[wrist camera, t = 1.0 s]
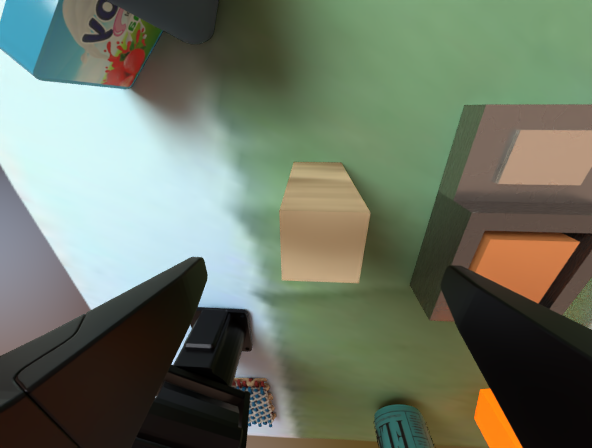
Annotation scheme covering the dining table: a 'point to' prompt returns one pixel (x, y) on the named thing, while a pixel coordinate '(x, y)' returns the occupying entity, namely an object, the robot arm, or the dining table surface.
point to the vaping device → (176, 16)
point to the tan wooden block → (322, 225)
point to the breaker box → (511, 194)
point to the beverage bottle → (401, 428)
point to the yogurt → (77, 41)
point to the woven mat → (257, 400)
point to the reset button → (523, 260)
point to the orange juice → (494, 422)
